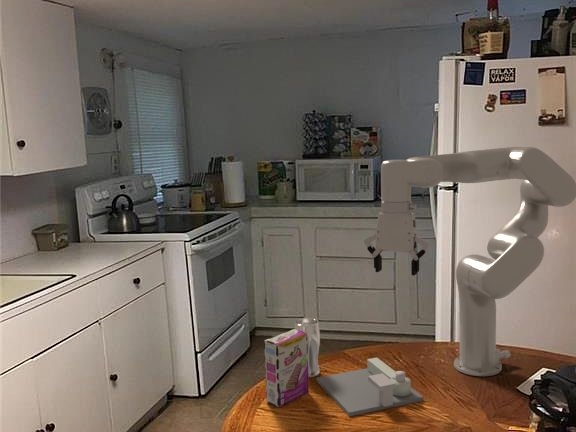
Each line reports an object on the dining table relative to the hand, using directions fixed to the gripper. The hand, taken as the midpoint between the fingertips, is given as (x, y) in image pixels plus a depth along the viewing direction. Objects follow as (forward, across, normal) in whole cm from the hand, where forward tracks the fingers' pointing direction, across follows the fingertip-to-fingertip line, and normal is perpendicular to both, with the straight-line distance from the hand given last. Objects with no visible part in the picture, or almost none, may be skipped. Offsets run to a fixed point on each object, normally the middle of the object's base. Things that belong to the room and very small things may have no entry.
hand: (396, 272), depth 147 cm
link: (+28, +1, +5) cm, 28 cm away
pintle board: (+29, +5, +10) cm, 31 cm away
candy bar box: (+30, +22, +21) cm, 43 cm away
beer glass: (+30, +24, +5) cm, 38 cm away
